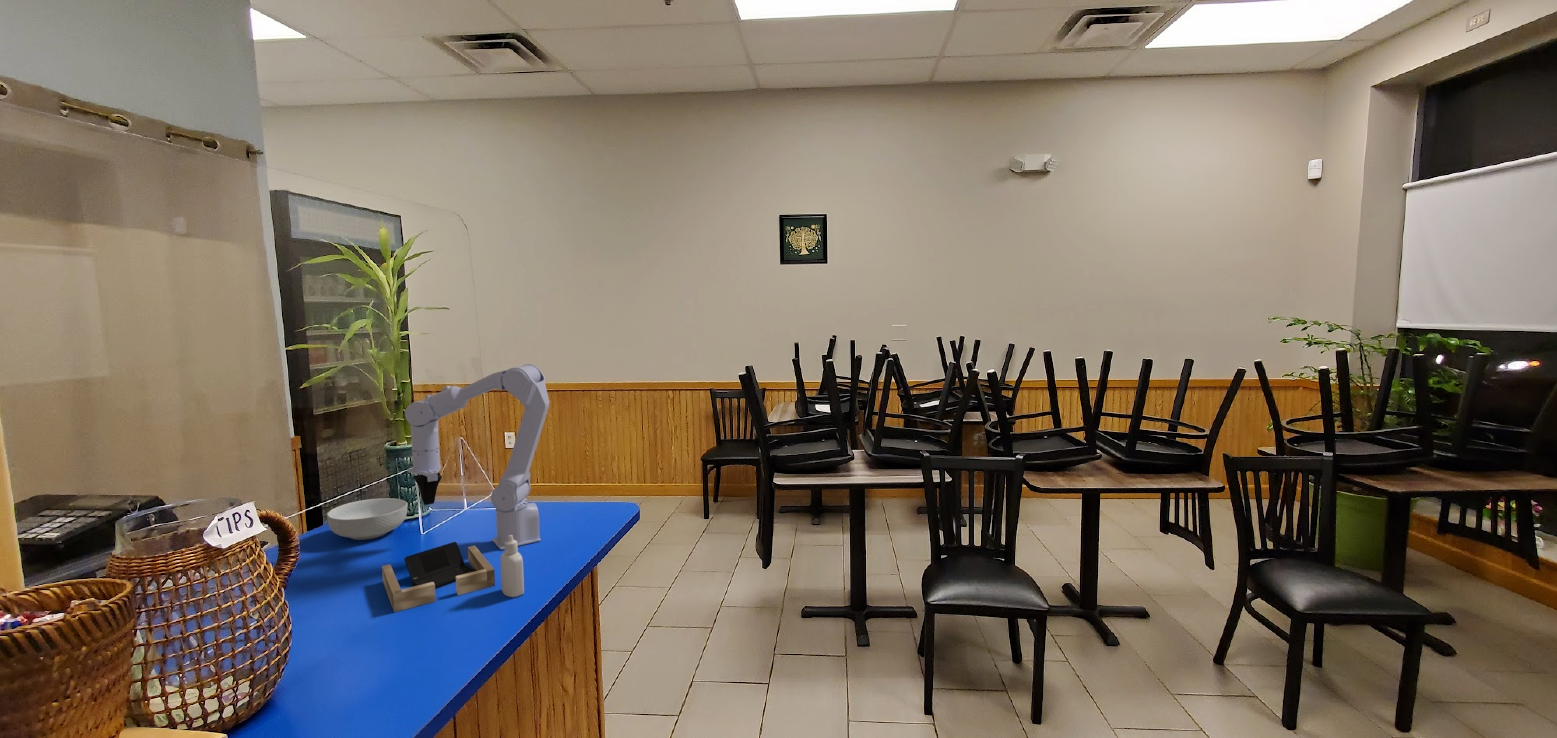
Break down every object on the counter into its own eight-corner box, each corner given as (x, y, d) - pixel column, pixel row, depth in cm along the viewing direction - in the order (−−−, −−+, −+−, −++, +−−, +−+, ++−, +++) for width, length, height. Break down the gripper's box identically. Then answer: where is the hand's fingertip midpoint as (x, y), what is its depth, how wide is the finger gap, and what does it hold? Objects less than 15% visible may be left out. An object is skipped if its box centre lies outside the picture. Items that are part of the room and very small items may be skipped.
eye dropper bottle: (525, 584, 127) (522, 529, 126) (523, 596, 122) (521, 539, 121) (502, 588, 126) (499, 532, 125) (500, 600, 121) (497, 542, 120)
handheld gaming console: (432, 587, 123) (417, 542, 126) (413, 603, 125) (398, 558, 128) (482, 573, 133) (467, 532, 136) (464, 588, 136) (449, 547, 139)
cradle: (475, 560, 140) (474, 545, 139) (495, 585, 127) (494, 569, 127) (382, 581, 128) (381, 566, 128) (394, 612, 116) (393, 594, 115)
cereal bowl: (350, 552, 144) (348, 523, 143) (315, 539, 152) (313, 511, 151) (422, 529, 159) (420, 503, 158) (386, 518, 167) (385, 493, 166)
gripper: (401, 446, 151) (405, 499, 152) (411, 457, 139) (415, 514, 141) (434, 442, 155) (436, 494, 156) (446, 452, 144) (449, 508, 145)
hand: (428, 503), depth 149 cm, fingers closed
